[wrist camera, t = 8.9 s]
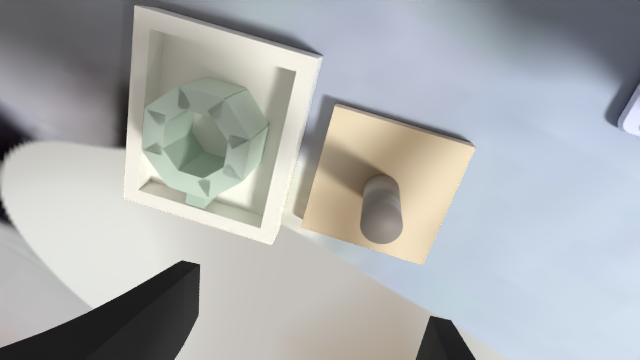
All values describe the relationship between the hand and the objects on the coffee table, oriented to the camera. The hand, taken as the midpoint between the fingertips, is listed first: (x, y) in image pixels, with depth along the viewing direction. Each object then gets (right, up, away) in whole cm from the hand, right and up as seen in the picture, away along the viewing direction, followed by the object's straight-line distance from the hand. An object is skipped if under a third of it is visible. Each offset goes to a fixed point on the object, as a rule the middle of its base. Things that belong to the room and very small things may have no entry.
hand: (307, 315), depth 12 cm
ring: (-5, +7, +8) cm, 12 cm away
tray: (-5, +7, +9) cm, 12 cm away
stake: (+4, +4, +9) cm, 10 cm away
